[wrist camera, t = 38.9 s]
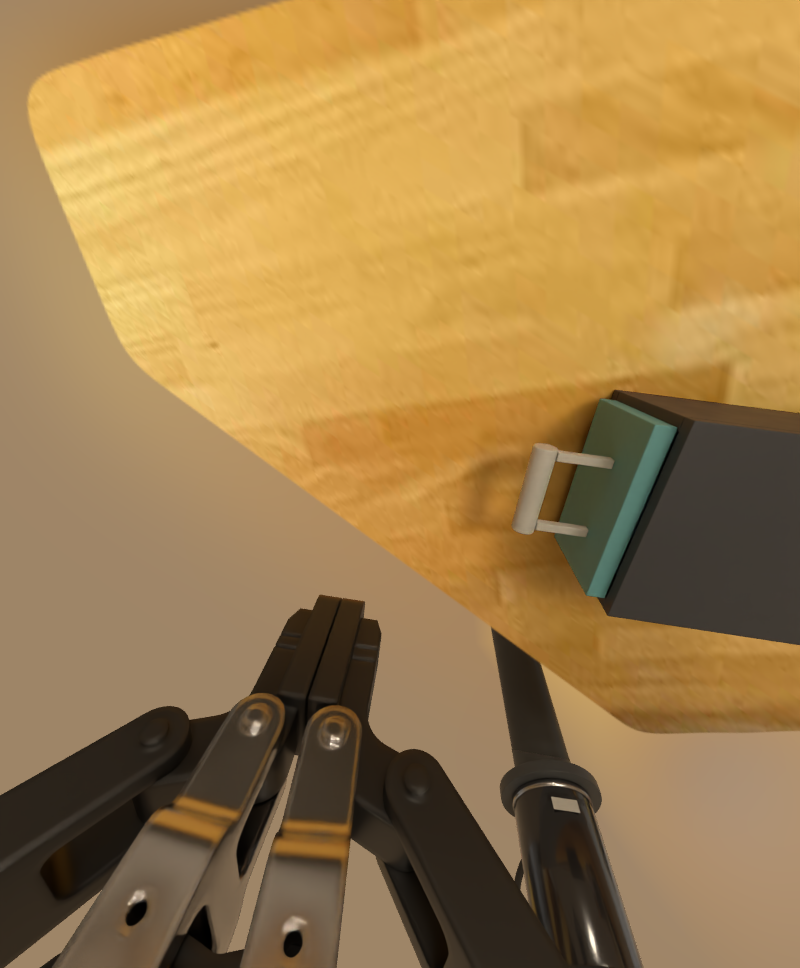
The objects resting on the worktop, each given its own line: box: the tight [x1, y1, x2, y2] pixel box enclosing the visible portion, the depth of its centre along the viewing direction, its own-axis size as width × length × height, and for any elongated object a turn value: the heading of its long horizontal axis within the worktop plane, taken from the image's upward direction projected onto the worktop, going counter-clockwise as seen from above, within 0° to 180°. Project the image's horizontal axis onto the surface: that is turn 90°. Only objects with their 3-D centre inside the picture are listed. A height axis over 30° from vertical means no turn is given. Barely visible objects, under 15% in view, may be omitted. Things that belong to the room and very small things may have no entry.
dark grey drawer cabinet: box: [597, 390, 800, 645], centre depth 25 cm, size 14×13×9 cm
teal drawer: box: [512, 399, 679, 598], centre depth 25 cm, size 18×11×7 cm, turn 84°
